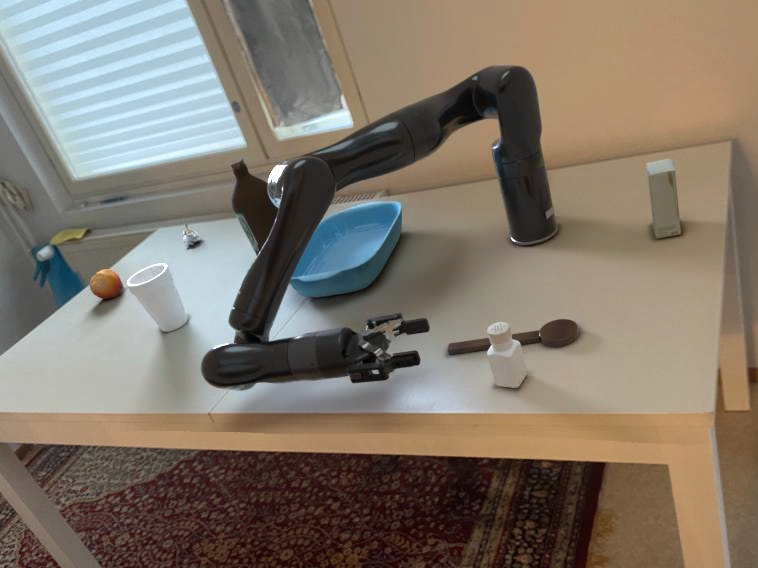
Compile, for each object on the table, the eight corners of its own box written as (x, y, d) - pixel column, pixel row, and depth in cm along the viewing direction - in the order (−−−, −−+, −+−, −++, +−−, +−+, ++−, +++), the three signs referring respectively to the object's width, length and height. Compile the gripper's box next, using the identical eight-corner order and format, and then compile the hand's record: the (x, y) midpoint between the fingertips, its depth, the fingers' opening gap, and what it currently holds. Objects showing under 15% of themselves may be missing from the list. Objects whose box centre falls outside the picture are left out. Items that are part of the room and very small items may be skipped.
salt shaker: (518, 390, 102) (504, 337, 97) (494, 387, 104) (479, 335, 99) (529, 373, 105) (516, 320, 100) (505, 370, 107) (491, 319, 102)
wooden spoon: (447, 362, 114) (445, 356, 113) (451, 341, 118) (449, 335, 118) (579, 344, 107) (578, 337, 106) (578, 322, 112) (577, 316, 111)
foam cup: (158, 340, 154) (129, 290, 147) (152, 326, 162) (123, 278, 155) (198, 320, 156) (171, 270, 149) (189, 307, 164) (163, 259, 157)
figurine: (192, 247, 199) (182, 228, 196) (182, 247, 202) (172, 228, 199) (204, 238, 203) (195, 219, 199) (194, 238, 205) (185, 220, 202)
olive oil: (292, 242, 179) (252, 148, 166) (303, 254, 170) (262, 156, 157) (254, 259, 177) (211, 166, 164) (263, 272, 168) (218, 174, 155)
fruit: (134, 278, 188) (111, 263, 182) (125, 304, 186) (101, 291, 179) (114, 279, 192) (90, 265, 186) (105, 305, 190) (80, 292, 183)
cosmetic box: (681, 235, 124) (676, 170, 117) (655, 239, 125) (648, 175, 119) (677, 219, 129) (671, 156, 122) (652, 224, 130) (645, 161, 124)
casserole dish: (334, 234, 174) (324, 208, 170) (418, 219, 166) (410, 191, 162) (280, 316, 146) (267, 286, 142) (378, 302, 138) (367, 270, 134)
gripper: (301, 362, 101) (408, 347, 95) (328, 310, 112) (424, 293, 107) (320, 402, 105) (423, 390, 99) (343, 348, 116) (437, 334, 111)
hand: (423, 340), depth 103 cm, fingers open, 8 cm apart
